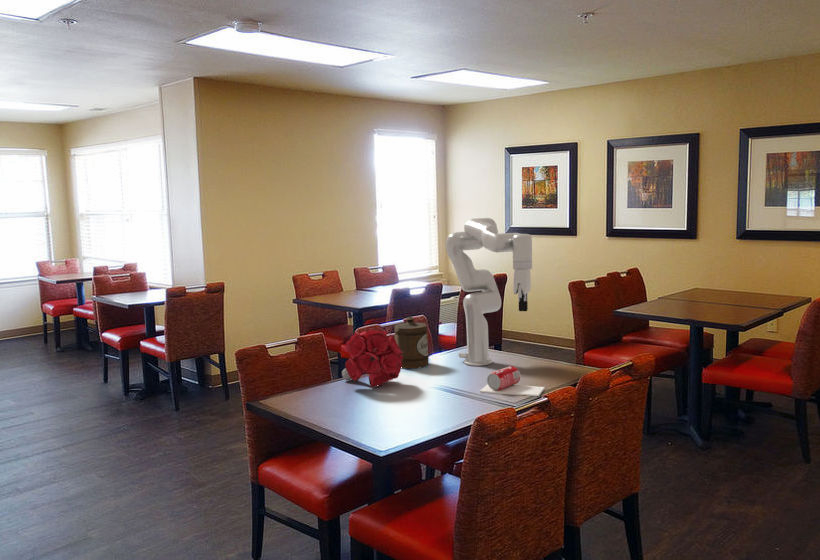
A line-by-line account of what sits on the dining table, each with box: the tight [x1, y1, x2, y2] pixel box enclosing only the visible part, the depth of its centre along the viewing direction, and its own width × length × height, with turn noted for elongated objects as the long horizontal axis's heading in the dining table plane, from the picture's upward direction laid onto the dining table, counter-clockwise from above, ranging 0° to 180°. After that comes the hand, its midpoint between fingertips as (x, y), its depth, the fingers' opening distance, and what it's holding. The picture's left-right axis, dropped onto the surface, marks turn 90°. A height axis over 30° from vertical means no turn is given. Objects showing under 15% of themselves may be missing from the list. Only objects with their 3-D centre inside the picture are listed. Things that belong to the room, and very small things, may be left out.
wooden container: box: [394, 316, 429, 369], centre depth 296 cm, size 15×15×22 cm
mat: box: [479, 383, 545, 397], centre depth 248 cm, size 22×11×1 cm, turn 67°
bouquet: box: [341, 329, 403, 388], centre depth 265 cm, size 22×24×30 cm
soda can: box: [486, 365, 521, 390], centre depth 251 cm, size 7×7×13 cm
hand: (523, 310), depth 263 cm, fingers closed
